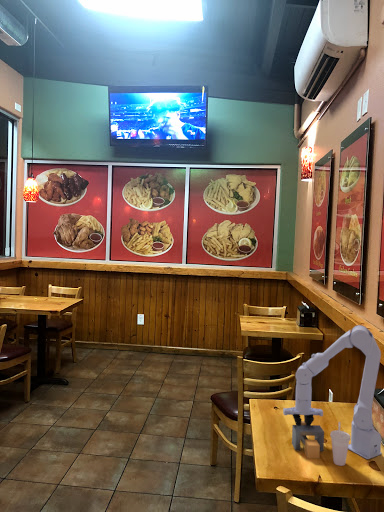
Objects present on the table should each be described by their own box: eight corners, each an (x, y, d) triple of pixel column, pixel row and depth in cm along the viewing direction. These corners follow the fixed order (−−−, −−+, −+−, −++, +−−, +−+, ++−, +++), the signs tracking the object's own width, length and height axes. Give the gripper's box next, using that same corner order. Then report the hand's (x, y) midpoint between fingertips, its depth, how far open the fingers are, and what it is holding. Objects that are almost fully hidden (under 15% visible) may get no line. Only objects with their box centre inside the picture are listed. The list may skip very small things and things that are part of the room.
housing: (323, 451, 145) (324, 431, 144) (295, 450, 145) (295, 431, 144) (319, 444, 150) (319, 425, 149) (291, 443, 150) (292, 424, 149)
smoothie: (325, 459, 139) (326, 419, 138) (339, 456, 142) (341, 416, 141) (338, 469, 133) (340, 427, 133) (353, 465, 136) (355, 424, 135)
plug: (319, 458, 140) (319, 441, 140) (307, 458, 140) (308, 441, 139) (306, 436, 155) (307, 421, 155) (296, 436, 155) (296, 420, 155)
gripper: (319, 394, 158) (318, 429, 158) (281, 393, 158) (280, 428, 158) (325, 401, 151) (324, 437, 151) (286, 401, 151) (284, 437, 151)
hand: (302, 433), depth 154 cm, fingers closed on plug, 2 cm apart
